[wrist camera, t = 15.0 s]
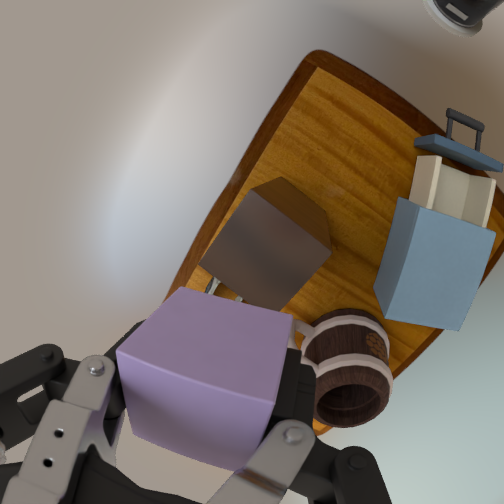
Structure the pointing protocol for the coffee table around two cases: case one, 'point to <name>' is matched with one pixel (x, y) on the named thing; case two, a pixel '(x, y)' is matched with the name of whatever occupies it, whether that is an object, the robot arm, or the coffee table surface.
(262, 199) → the stand
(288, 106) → the coffee table surface
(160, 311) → the purple cube
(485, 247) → the cabinet
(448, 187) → the drawer
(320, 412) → the mug
